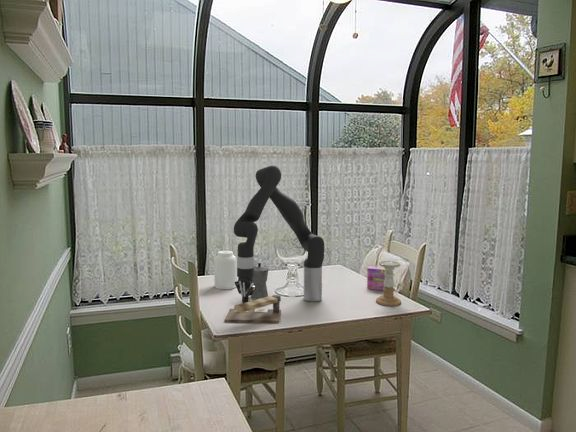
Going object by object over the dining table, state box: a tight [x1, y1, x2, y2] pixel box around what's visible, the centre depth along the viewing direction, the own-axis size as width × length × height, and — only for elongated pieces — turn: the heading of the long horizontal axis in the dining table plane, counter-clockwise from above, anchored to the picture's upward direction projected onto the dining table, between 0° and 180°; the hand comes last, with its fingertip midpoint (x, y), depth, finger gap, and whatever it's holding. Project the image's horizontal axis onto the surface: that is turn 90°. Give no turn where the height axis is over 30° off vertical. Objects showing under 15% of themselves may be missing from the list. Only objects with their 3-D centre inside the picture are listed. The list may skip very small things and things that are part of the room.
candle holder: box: [375, 260, 402, 307], centre depth 242 cm, size 12×12×20 cm
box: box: [366, 265, 386, 291], centre depth 268 cm, size 10×6×12 cm, turn 68°
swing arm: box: [233, 294, 282, 313], centre depth 217 cm, size 24×5×2 cm, turn 134°
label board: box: [224, 301, 282, 324], centre depth 220 cm, size 24×15×6 cm, turn 88°
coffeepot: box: [250, 262, 269, 300], centre depth 251 cm, size 15×9×18 cm, turn 33°
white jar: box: [213, 249, 238, 290], centre depth 268 cm, size 12×12×20 cm
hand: (245, 304), depth 217 cm, fingers closed
